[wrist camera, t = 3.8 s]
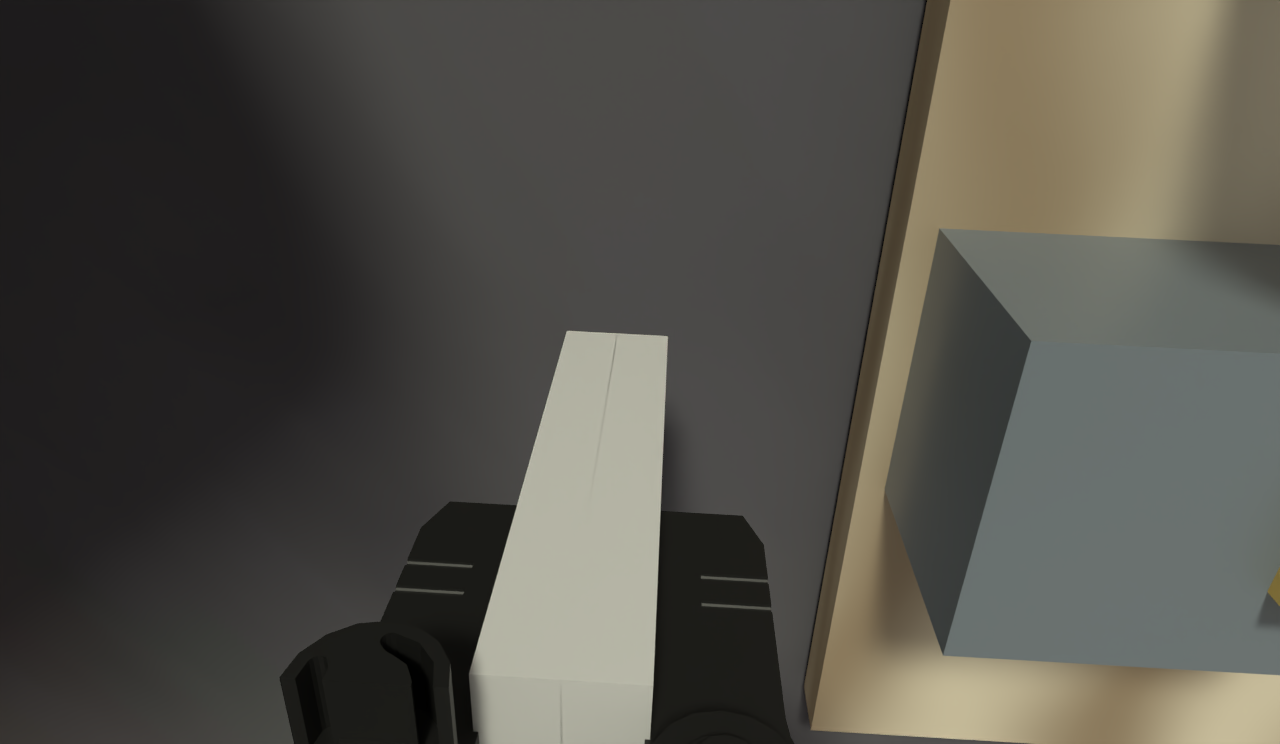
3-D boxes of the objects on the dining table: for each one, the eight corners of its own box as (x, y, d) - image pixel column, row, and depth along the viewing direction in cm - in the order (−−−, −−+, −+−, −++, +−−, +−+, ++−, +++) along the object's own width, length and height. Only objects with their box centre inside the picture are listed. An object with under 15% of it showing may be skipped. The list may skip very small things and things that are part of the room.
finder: (884, 489, 16) (954, 689, 12) (939, 228, 13) (1050, 365, 9) (1270, 511, 16) (1477, 720, 12) (1395, 250, 13) (1707, 398, 9)
